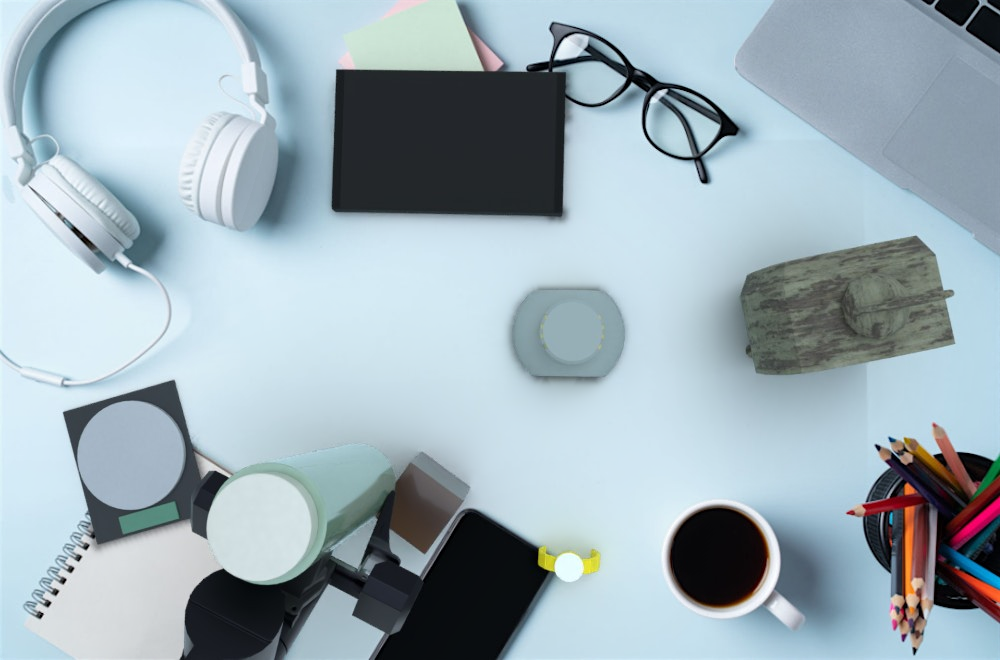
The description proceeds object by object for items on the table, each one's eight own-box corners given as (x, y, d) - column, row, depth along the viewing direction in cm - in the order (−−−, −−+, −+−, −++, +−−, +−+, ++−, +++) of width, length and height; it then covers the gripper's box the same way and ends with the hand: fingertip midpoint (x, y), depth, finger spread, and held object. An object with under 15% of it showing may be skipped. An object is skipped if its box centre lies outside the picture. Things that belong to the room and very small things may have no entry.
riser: (436, 532, 80) (424, 554, 71) (389, 497, 80) (371, 515, 71) (471, 484, 80) (463, 501, 71) (424, 449, 80) (410, 461, 71)
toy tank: (733, 372, 79) (826, 379, 54) (715, 284, 79) (799, 251, 54) (876, 344, 78) (1036, 338, 54) (857, 256, 79) (1007, 210, 54)
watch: (598, 539, 79) (603, 555, 73) (596, 567, 79) (602, 584, 73) (539, 535, 79) (539, 550, 73) (537, 563, 79) (537, 580, 73)
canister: (401, 515, 69) (328, 579, 44) (323, 528, 70) (205, 600, 44) (389, 437, 70) (310, 454, 44) (312, 450, 70) (189, 475, 44)
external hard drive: (343, 78, 82) (336, 68, 79) (565, 81, 81) (566, 71, 78) (338, 214, 81) (331, 208, 78) (562, 218, 80) (563, 213, 77)
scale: (215, 509, 81) (206, 514, 78) (105, 541, 81) (93, 546, 79) (180, 379, 81) (170, 379, 79) (71, 410, 82) (58, 412, 79)
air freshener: (621, 294, 80) (634, 285, 70) (620, 375, 79) (633, 378, 69) (514, 293, 80) (512, 284, 70) (513, 374, 80) (510, 376, 70)
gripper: (389, 653, 50) (478, 472, 61) (133, 518, 51) (267, 365, 62) (360, 710, 57) (444, 540, 69) (138, 592, 58) (257, 444, 69)
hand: (355, 473), depth 67 cm, fingers closed on canister, 7 cm apart
